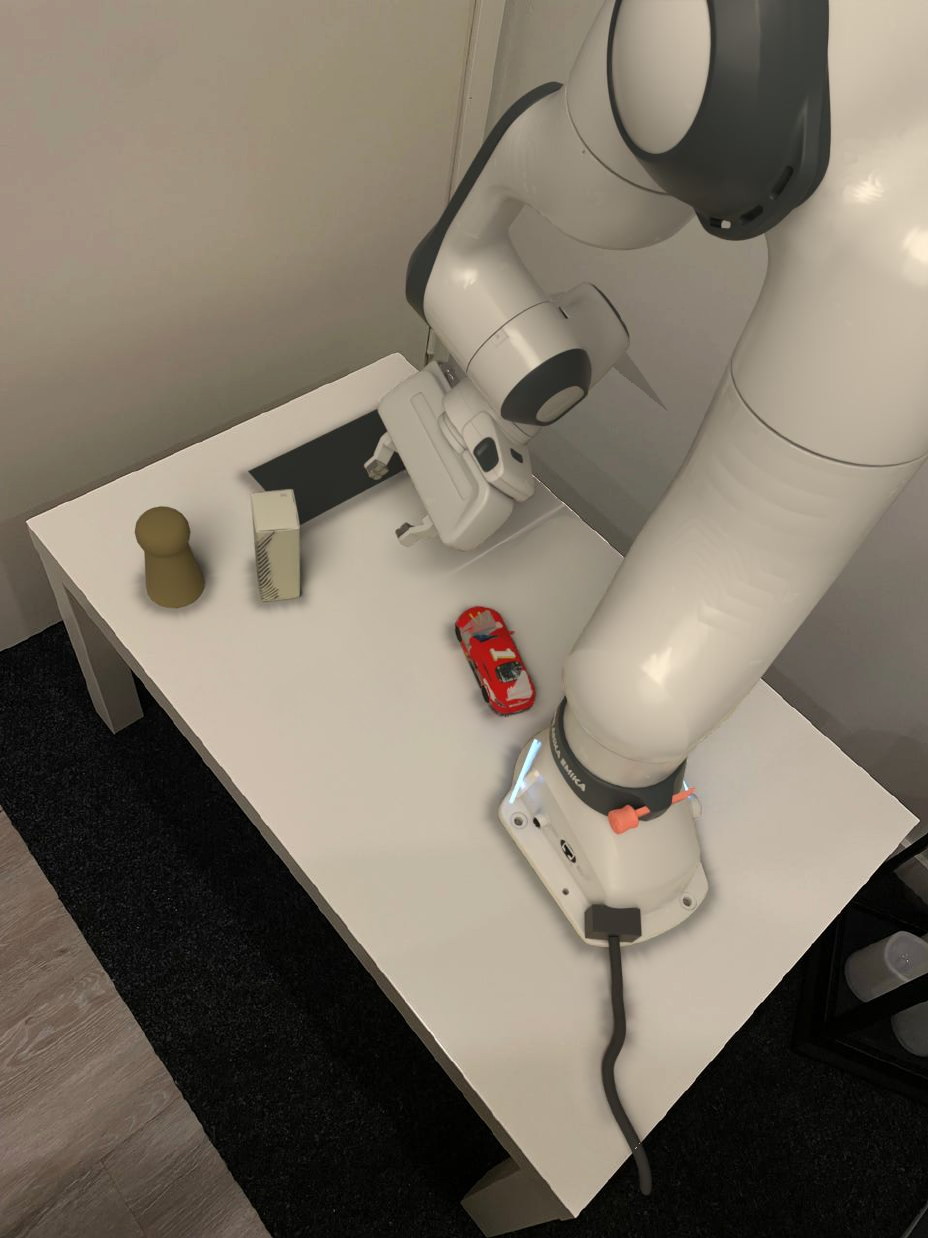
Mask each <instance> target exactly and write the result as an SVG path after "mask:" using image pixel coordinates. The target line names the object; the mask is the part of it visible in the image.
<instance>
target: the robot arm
mask: <svg viewBox="0 0 928 1238" xmlns="http://www.w3.org/2000/svg"><path fill="white" fill-rule="evenodd" d="M525 206H527V207H529V208H530V209H532V210H534V211H535V212H536V213H538V214H539V215H541V217H542V218H544V219H545V220H546V222H548V223H550V224H551V225H552V226H553V227H554V228H555V229H556V230H558V231H559V232H561V233H562V234H563V235H565V236H566V237H568V238H570V239H571V240H574V241H576V242H578V243H580V244H583V245H586V246H589V247H593V248H597V249H602V250H610V251H632V250H633V251H634V250H641V249H645V248H649V247H653V246H655V245H658V244H660V243H663V242H666V240H669V239H670V238H672V237H673V236H676V235H677V234H678V233H679V232H680V231H681V230H683V229H684V228H685V226H687V225H688V224H689V223H690V222H691V221H692V220H693V219H694V218H695V217H697V219H698V222H699V223H700V225H701V227H702V228H703V229H704V231H705V232H706V233H708V234H709V235H711V236H713V237H715V238H719V239H721V240H725V241H733V242H741V241H747V240H751V239H754V238H757V237H759V236H762V235H764V238H765V240H766V248H767V268H766V273H765V277H764V280H763V284H762V286H761V289H760V292H759V295H758V297H757V300H756V302H755V304H754V306H753V309H752V310H751V313H750V314H749V316H748V319H747V321H746V322H745V325H744V326H743V330H741V334H740V336H739V338H738V340H737V342H736V344H735V346H734V349H733V351H732V353H731V354H730V357H729V360H728V361H727V364H726V365H725V369H724V371H723V373H722V376H721V378H720V380H719V382H718V385H717V387H716V389H715V391H714V394H713V396H712V398H711V400H710V403H709V405H708V407H707V409H706V412H705V414H704V416H703V417H702V421H701V423H700V425H699V427H698V429H697V432H696V433H695V436H694V438H693V440H692V443H691V445H690V447H689V448H688V451H687V453H686V455H685V456H684V459H683V460H682V463H681V465H680V466H679V468H678V470H677V471H676V473H675V475H674V477H673V478H672V480H671V481H670V483H669V484H668V485H667V488H665V491H663V494H662V495H661V497H660V498H659V500H658V501H657V504H656V505H655V506H654V508H653V509H652V511H651V513H650V514H649V516H648V518H647V519H646V521H645V522H644V524H643V526H642V528H641V529H640V531H639V532H638V534H637V536H636V537H635V539H634V541H633V543H632V544H631V546H630V548H629V549H628V551H627V553H626V554H625V556H624V558H623V559H622V561H621V563H620V565H619V567H618V569H617V570H616V572H615V574H614V576H613V578H612V579H611V581H610V583H609V584H608V586H607V589H606V590H605V592H604V594H603V596H602V598H601V599H600V601H599V603H598V605H597V606H596V608H595V609H594V611H593V613H592V614H591V616H590V618H589V619H588V621H587V623H586V624H585V626H584V627H583V629H582V631H581V632H580V633H579V635H578V637H577V639H576V641H575V642H574V644H573V645H572V647H571V649H570V651H569V652H568V655H567V656H566V658H565V660H564V662H563V664H562V668H561V669H562V670H561V680H562V686H563V692H564V696H563V697H562V699H561V700H560V702H559V704H558V706H557V708H556V709H555V712H554V713H553V715H552V717H551V721H550V725H549V726H548V727H546V728H544V729H542V730H541V731H539V732H537V733H536V734H535V735H533V736H532V737H531V738H530V739H529V740H528V741H527V743H526V744H525V745H524V747H523V748H522V749H521V751H520V753H519V755H518V757H517V759H516V762H515V767H514V769H513V776H512V782H511V786H510V789H509V791H508V792H507V793H506V794H505V796H504V797H503V799H502V801H501V802H500V804H499V806H498V808H497V809H498V810H497V818H498V819H499V822H500V823H501V824H502V826H503V827H504V829H505V830H506V832H507V834H509V836H510V838H511V839H512V840H513V841H514V843H515V845H516V846H517V848H518V849H519V850H520V852H521V854H522V855H523V856H524V858H525V859H526V861H527V863H528V864H529V865H530V866H531V868H532V870H533V871H534V873H535V874H536V875H537V877H538V878H539V879H540V881H541V882H542V884H543V885H544V887H545V888H546V890H547V891H548V893H549V895H550V896H551V897H552V899H553V900H554V901H555V903H556V904H557V906H558V907H559V909H560V910H561V912H562V914H563V915H564V916H565V917H566V919H567V920H568V922H569V923H570V925H571V926H572V927H573V929H574V930H575V932H576V933H577V935H578V936H579V938H581V940H582V941H583V942H584V943H585V944H587V945H591V946H593V947H594V946H595V947H599V948H608V952H609V953H608V955H609V964H610V965H609V966H610V977H611V979H610V981H611V1005H612V1013H613V1021H614V1023H613V1024H614V1029H613V1036H612V1039H611V1041H610V1043H609V1045H608V1047H607V1049H606V1052H605V1053H604V1056H603V1059H602V1064H601V1076H602V1085H603V1090H604V1094H605V1097H606V1101H607V1104H608V1107H609V1108H610V1110H611V1113H612V1115H613V1117H614V1120H615V1121H616V1123H617V1125H618V1127H619V1129H620V1131H621V1133H622V1135H623V1137H624V1139H625V1141H626V1142H627V1145H628V1147H629V1148H630V1151H631V1153H632V1155H633V1159H634V1161H635V1164H636V1167H637V1170H638V1178H639V1179H638V1180H639V1190H640V1191H641V1193H642V1194H643V1195H644V1196H649V1195H650V1194H651V1193H652V1188H653V1187H652V1186H653V1179H652V1171H651V1167H650V1162H649V1159H648V1156H647V1154H646V1151H645V1149H644V1146H643V1144H642V1142H641V1139H640V1138H639V1135H638V1134H637V1132H636V1130H635V1128H634V1126H633V1124H632V1122H631V1121H630V1119H629V1117H628V1115H627V1113H626V1111H625V1109H624V1106H623V1104H622V1102H621V1100H620V1096H619V1093H618V1090H617V1086H616V1081H615V1064H616V1062H617V1059H618V1058H619V1056H620V1053H621V1051H622V1049H623V1047H624V1043H625V1039H626V1035H627V1034H626V1032H627V1019H626V1018H627V1017H626V1011H625V1005H624V1004H625V1003H624V981H623V980H624V979H623V964H622V953H621V947H627V946H632V945H636V944H639V943H643V942H645V941H649V940H650V939H654V938H655V937H658V936H660V935H662V934H664V933H666V932H668V931H670V930H672V929H673V928H675V927H677V926H678V925H680V924H682V922H684V921H686V919H688V918H689V917H690V916H691V915H693V913H694V912H695V911H696V910H697V909H698V907H700V905H701V904H702V902H703V901H704V900H705V897H706V896H707V893H708V892H709V882H708V879H707V876H706V873H705V870H704V866H703V863H702V861H701V848H700V844H699V839H698V834H697V830H696V827H695V826H696V825H695V824H694V823H695V822H694V820H695V819H699V817H701V816H702V814H703V809H702V803H701V801H700V799H699V797H698V796H697V795H696V794H694V792H695V791H696V790H697V788H696V787H691V788H688V786H687V784H686V782H685V779H684V778H685V773H686V769H687V763H688V757H689V756H690V755H691V754H692V753H693V751H694V750H695V749H696V748H697V746H698V745H700V744H701V743H703V742H704V741H705V740H706V739H707V738H708V737H709V736H710V735H712V734H713V733H714V732H715V731H716V730H717V729H719V728H720V727H721V726H722V725H723V724H725V723H726V722H727V721H728V720H729V719H730V718H731V717H733V715H734V714H735V713H736V711H737V710H738V709H739V708H740V706H741V705H742V703H743V702H744V701H745V699H746V698H747V697H748V695H749V694H750V693H751V692H752V690H753V689H754V688H755V687H756V685H757V684H758V683H759V681H760V680H761V679H762V677H763V676H764V675H765V673H766V672H767V670H768V669H769V668H770V667H771V665H772V664H773V663H774V661H775V660H776V659H777V658H778V656H779V655H780V653H781V652H782V651H783V650H784V648H785V647H786V646H787V644H788V643H789V641H791V639H792V638H793V636H794V635H795V634H796V633H797V632H798V630H799V629H800V627H801V626H802V624H803V623H804V622H805V621H806V619H807V618H808V617H809V616H810V614H811V613H812V612H813V611H814V609H815V608H816V606H817V605H818V603H820V601H821V599H822V598H823V597H824V596H825V594H826V593H827V591H828V590H829V589H830V588H831V586H832V585H833V584H834V582H835V581H836V579H837V578H838V577H839V575H841V574H842V571H844V569H845V568H846V566H847V565H848V564H849V563H850V561H851V560H852V558H853V557H854V556H855V555H856V554H857V552H858V551H859V550H860V548H861V547H862V546H863V544H864V543H866V540H867V539H868V538H869V536H870V535H871V534H872V532H873V531H874V530H875V528H876V527H877V526H878V524H879V523H880V522H881V521H882V520H883V518H884V517H885V515H886V514H887V512H888V511H890V509H891V507H892V506H893V505H894V503H895V502H896V501H897V500H898V498H899V497H900V495H902V493H903V492H904V490H905V489H906V488H907V487H908V485H909V484H910V482H911V481H912V480H913V479H914V477H915V476H916V475H917V474H918V472H919V471H920V470H921V468H922V467H923V466H924V464H925V463H926V461H927V460H928V0H604V2H603V3H602V5H601V7H600V8H599V10H598V12H597V14H596V16H595V17H594V20H593V22H592V23H591V26H590V28H589V30H588V32H587V34H586V36H585V38H584V40H583V41H582V44H581V46H580V48H579V51H578V53H577V56H576V57H575V60H574V62H573V64H572V67H571V68H570V71H569V73H568V76H567V78H566V80H565V82H564V83H561V82H560V81H559V82H558V81H553V80H552V81H549V82H545V83H542V84H540V85H538V86H537V87H535V88H533V89H531V90H530V91H527V92H526V93H525V94H524V95H521V97H520V98H518V99H517V100H515V102H513V103H512V104H511V105H510V107H508V109H507V110H506V111H505V112H504V113H503V114H502V115H501V117H500V118H499V119H498V121H497V122H496V123H495V125H494V126H493V127H492V129H491V131H490V132H489V133H488V135H487V136H486V138H485V139H484V142H483V144H482V145H481V146H480V148H479V150H478V151H477V153H476V154H475V156H474V158H473V160H472V161H471V163H470V164H469V167H468V168H467V170H466V171H465V174H464V175H463V177H462V179H461V180H460V182H459V183H458V186H457V187H456V189H455V191H454V192H453V194H452V197H451V198H450V200H449V201H448V203H447V205H446V207H445V209H444V210H443V212H442V213H441V215H440V217H439V219H438V220H437V222H436V223H435V224H434V225H433V226H432V227H431V229H430V230H429V231H428V232H427V233H426V234H425V236H424V237H423V238H422V239H421V241H419V243H418V244H417V245H416V247H415V248H414V250H413V252H412V253H411V255H410V257H409V259H408V263H407V268H406V274H405V291H404V292H405V298H406V299H405V300H406V302H407V303H408V304H409V306H410V307H411V308H412V309H413V310H414V311H415V313H417V315H418V316H419V317H420V318H421V319H422V320H423V322H424V323H425V324H426V325H427V326H428V327H429V328H430V329H431V330H432V331H433V332H434V333H435V334H436V336H437V338H438V339H439V340H440V342H441V343H442V344H443V346H444V347H445V348H446V350H447V351H448V352H449V354H450V355H451V356H452V358H453V359H454V360H455V361H456V363H457V364H458V366H459V367H460V369H461V370H462V371H463V373H464V374H465V375H466V376H464V377H463V378H462V379H460V378H459V376H458V375H457V373H456V371H455V368H454V366H453V365H452V364H451V363H450V362H449V361H444V360H441V359H438V360H431V361H430V362H429V363H427V365H426V366H424V367H423V368H422V369H421V370H420V371H418V372H415V373H414V374H412V375H410V376H409V377H408V378H406V379H405V380H403V381H401V382H400V383H399V384H398V385H396V386H395V387H394V388H393V389H391V390H390V391H388V392H387V394H385V395H384V396H382V397H381V399H380V402H379V404H378V407H377V409H378V413H379V415H380V417H381V419H382V421H383V423H384V425H385V427H386V429H387V432H386V433H385V434H384V435H383V436H382V437H381V438H380V441H379V443H378V445H377V448H376V450H375V452H374V456H373V457H372V458H371V459H369V460H368V461H367V462H366V463H365V464H364V467H365V469H366V471H367V473H368V475H369V477H372V478H373V479H375V480H378V479H380V478H381V477H382V475H385V474H386V473H387V472H388V471H389V470H388V468H387V466H386V465H387V464H388V462H389V460H390V458H391V456H392V454H393V453H394V451H395V452H397V453H399V455H400V457H401V459H402V461H403V463H404V465H405V467H406V469H405V470H406V472H407V474H408V475H409V478H410V480H411V482H412V484H413V485H414V488H415V490H416V491H417V494H418V496H419V498H420V499H421V502H422V504H423V506H424V508H425V510H426V512H427V514H426V515H425V516H424V517H423V518H421V522H422V524H419V525H413V524H410V523H408V522H407V521H406V522H404V523H403V524H402V525H401V526H400V528H397V529H396V530H395V531H394V534H395V535H396V537H397V541H398V543H399V544H400V545H402V546H404V547H406V548H408V547H412V545H414V544H415V543H416V542H417V541H419V540H420V539H426V538H434V537H439V538H440V540H441V542H442V543H443V544H444V545H446V546H447V547H449V548H452V549H454V550H456V551H459V552H470V551H472V550H474V549H476V548H477V547H479V546H480V545H481V544H482V543H483V542H485V541H486V540H487V539H488V538H489V537H491V535H493V534H494V533H495V532H496V531H497V530H498V529H499V528H500V527H501V526H503V524H505V522H506V521H508V519H509V517H511V514H512V513H513V510H514V507H515V500H516V501H518V502H525V501H527V500H528V499H530V498H531V497H532V496H533V495H534V493H535V490H536V486H535V485H536V484H535V480H534V475H533V469H532V464H531V458H530V450H529V448H530V447H529V444H528V443H529V442H530V441H532V440H533V438H535V437H536V436H537V435H538V434H539V432H540V431H541V430H542V428H543V427H549V426H551V425H553V424H555V423H556V422H558V421H559V420H560V419H562V418H563V417H564V416H565V415H566V414H568V413H569V412H570V411H571V410H572V409H574V408H575V407H576V406H577V405H579V404H580V403H581V402H582V401H583V400H584V399H586V398H587V397H588V395H589V392H590V390H591V389H593V388H594V387H595V386H596V385H597V384H598V383H599V382H600V381H601V380H602V379H603V378H604V377H605V376H606V375H607V374H608V373H609V371H611V369H613V368H614V366H616V364H617V363H618V362H619V361H620V360H621V358H622V357H623V356H624V355H625V353H626V352H627V351H628V349H629V348H630V346H631V339H630V332H629V329H628V327H627V325H626V323H625V321H624V320H623V319H622V317H621V315H620V312H619V311H618V310H617V308H616V307H615V306H614V304H613V303H612V302H611V300H610V299H609V298H608V297H607V296H606V294H605V293H604V292H603V291H602V290H601V289H599V288H598V287H597V286H596V285H595V284H593V283H591V282H589V281H583V282H581V283H579V284H577V285H575V286H573V287H572V288H570V289H569V290H568V291H566V292H565V293H563V294H561V295H560V296H559V297H557V298H556V299H554V300H553V299H552V298H551V297H550V295H549V294H548V293H547V291H546V290H545V289H544V287H543V286H542V285H541V283H540V282H539V281H538V280H537V278H536V277H535V276H534V274H533V273H532V272H531V271H532V270H530V269H529V267H528V266H527V265H526V263H525V262H524V260H523V259H522V258H521V256H520V255H519V253H518V251H517V249H516V246H515V245H514V243H513V241H512V237H511V235H510V232H509V228H510V227H511V225H512V224H513V223H514V222H515V220H516V219H517V217H518V216H519V215H520V213H521V212H522V210H523V209H524V208H525ZM723 222H728V223H729V224H730V225H729V227H722V223H723ZM515 820H516V821H517V820H518V821H519V822H520V825H517V824H516V823H515ZM564 892H565V893H564ZM684 900H687V902H688V905H686V904H685V903H684ZM639 1143H640V1144H639ZM636 1147H637V1148H636ZM635 1148H636V1149H635Z"/></svg>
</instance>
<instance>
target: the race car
mask: <svg viewBox="0 0 928 1238" xmlns="http://www.w3.org/2000/svg"><path fill="white" fill-rule="evenodd" d="M454 632H455V636H456V639H457V640H458V642H459V643H460V646H461V648H462V651H463V653H464V654H465V657H466V660H467V662H468V664H469V666H470V668H471V670H472V673H473V675H474V677H475V680H476V683H477V684H478V686H479V688H480V689H481V694H482V697H483V700H484V702H485V703H486V704H488V707H489V708H490V710H491V711H492V712H493V713H494V714H495V715H498V716H499V717H505V718H506V717H509V716H514V715H517V714H521V713H523V712H525V711H529V710H531V708H532V707H533V705H534V703H535V701H536V688H535V685H534V683H533V680H532V677H531V674H530V673H529V670H528V668H527V667H526V665H525V662H524V661H523V658H522V656H521V653H520V651H519V650H518V647H517V646H516V643H515V641H514V639H513V636H512V635H514V634H515V633H516V632H515V630H514V631H513V630H509V629H508V627H507V625H506V623H505V622H504V619H503V617H502V615H501V614H500V612H498V611H497V610H495V609H494V608H490V607H485V606H481V605H480V606H479V605H477V606H473V607H472V606H471V607H469V608H468V609H466V610H465V611H463V612H462V613H461V614H460V615H459V616H458V618H457V619H456V621H455V623H454Z"/></svg>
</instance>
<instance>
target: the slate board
mask: <svg viewBox="0 0 928 1238" xmlns="http://www.w3.org/2000/svg"><path fill="white" fill-rule="evenodd" d="M386 432H387V429H386V427H385V425H384V423H383V421H382V419H381V417H380V415H379V413H378V408H376V409H373V410H372V411H369V412H368V413H365V414H363V415H361V416H359V417H357V418H354V419H353V420H351V421H350V422H347V423H344V424H343V425H341V426H339V427H336V428H335V429H332V430H331V431H328V432H327V433H324V434H322V435H320V436H318V437H316V438H314V439H312V440H309V441H308V442H306V443H304V444H301V445H299V446H298V447H295V448H293V449H291V450H289V451H287V452H285V453H283V454H281V455H279V456H277V457H275V458H273V459H270V460H268V461H266V462H264V463H261V464H260V465H258V466H256V467H254V468H252V469H249V470H248V471H247V472H248V473H249V474H250V475H251V477H252V478H253V479H254V480H255V481H256V483H257V484H258V485H259V486H260V487H261V488H262V489H263V490H264V492H266V491H275V490H286V489H292V490H293V492H294V496H295V501H296V506H297V511H298V517H299V524H300V526H302V525H303V524H305V523H307V522H309V521H311V520H313V519H315V518H317V517H319V516H321V515H323V514H324V513H326V512H328V511H330V510H332V509H333V508H336V507H338V506H339V505H342V504H344V503H345V502H348V500H351V499H352V498H354V497H357V496H358V495H360V494H362V493H364V492H366V491H367V490H369V489H372V488H373V487H375V486H377V485H379V484H381V483H382V482H385V481H386V480H388V479H390V478H392V477H394V476H396V475H397V474H399V473H401V472H404V471H405V470H406V467H405V465H404V463H403V461H402V459H401V457H400V455H399V453H397V452H395V451H394V453H393V454H392V456H391V458H390V460H389V462H388V464H387V465H386V466H387V468H388V470H389V471H388V472H387V473H386V474H385V475H382V477H381V478H380V479H378V480H375V479H373V478H372V477H369V475H368V473H367V471H366V469H365V467H364V464H365V463H366V462H367V461H368V460H369V459H371V458H372V457H373V456H374V452H375V450H376V448H377V445H378V443H379V441H380V438H381V437H382V436H383V435H384V434H385V433H386Z"/></svg>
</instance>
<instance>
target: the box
mask: <svg viewBox="0 0 928 1238" xmlns="http://www.w3.org/2000/svg"><path fill="white" fill-rule="evenodd" d="M250 507H251V517H252V530H253V531H252V532H253V542H254V543H253V544H254V555H255V567H256V576H257V584H258V589H259V590H258V591H259V595H260V600H261V602H272V601H273V602H274V601H281V600H290V599H296V598H300V596H301V525H300V524H299V517H298V511H297V506H296V501H295V496H294V492H293V490H292V489H286V490H275V491H259V492H258V491H257V492H251V493H250Z"/></svg>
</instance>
